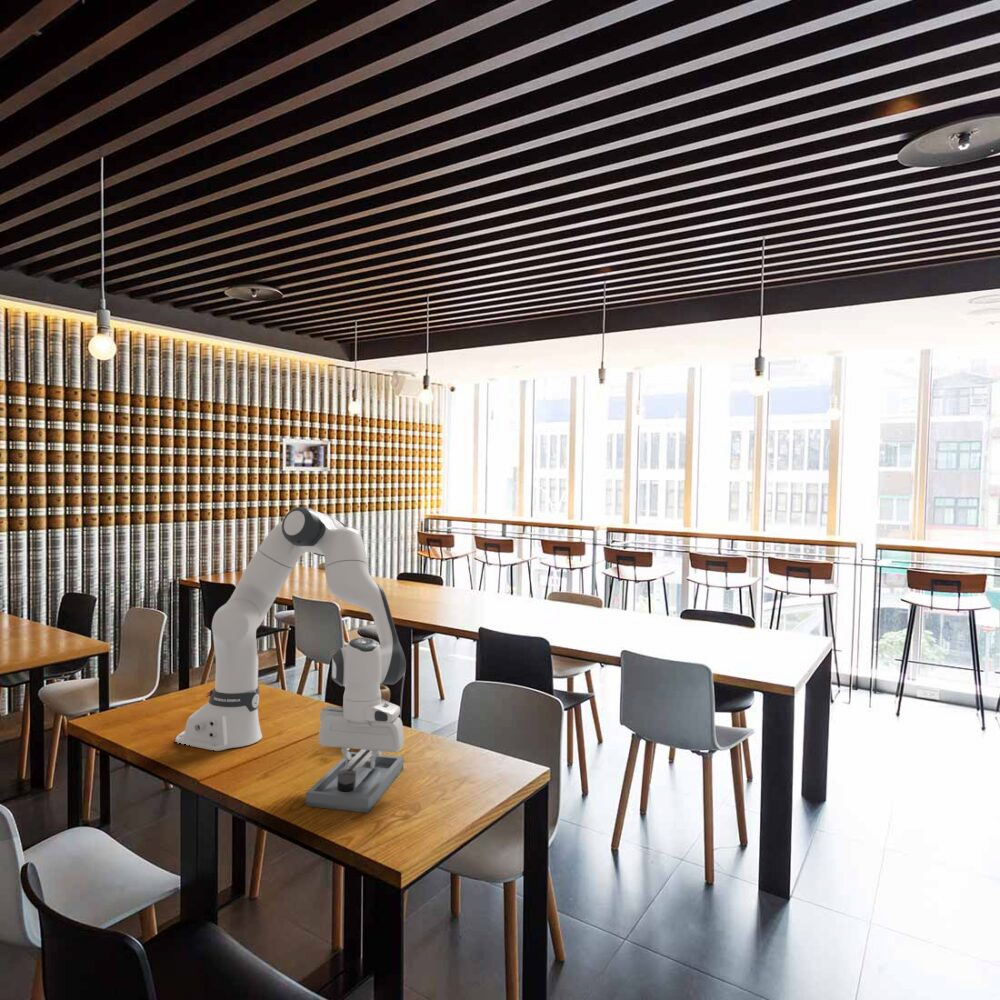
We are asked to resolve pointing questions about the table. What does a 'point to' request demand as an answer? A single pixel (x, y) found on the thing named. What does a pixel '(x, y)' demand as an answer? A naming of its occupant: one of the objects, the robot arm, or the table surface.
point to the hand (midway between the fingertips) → (360, 766)
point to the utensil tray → (364, 793)
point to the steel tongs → (355, 771)
